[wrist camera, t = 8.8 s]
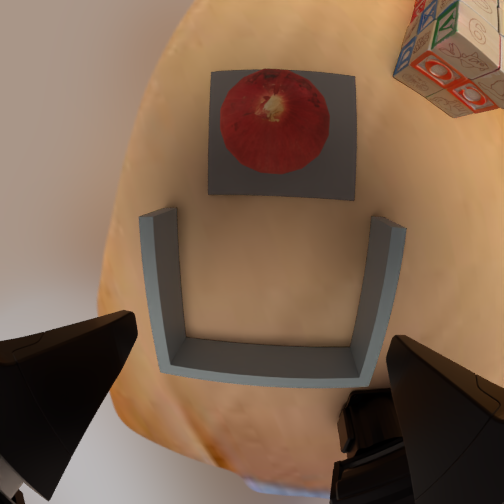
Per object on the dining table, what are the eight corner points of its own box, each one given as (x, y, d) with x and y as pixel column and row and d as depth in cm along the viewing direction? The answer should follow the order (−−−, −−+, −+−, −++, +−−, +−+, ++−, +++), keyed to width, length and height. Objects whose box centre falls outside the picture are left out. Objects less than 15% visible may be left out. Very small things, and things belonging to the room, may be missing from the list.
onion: (236, 89, 16) (204, 40, 9) (321, 95, 16) (346, 46, 8) (230, 171, 18) (193, 170, 10) (317, 177, 17) (343, 180, 10)
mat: (353, 78, 15) (355, 76, 15) (352, 200, 18) (354, 200, 18) (212, 73, 16) (211, 71, 16) (209, 194, 19) (207, 194, 19)
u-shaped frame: (383, 217, 18) (406, 228, 14) (358, 356, 21) (368, 386, 18) (164, 207, 20) (138, 216, 16) (176, 344, 23) (160, 372, 19)
